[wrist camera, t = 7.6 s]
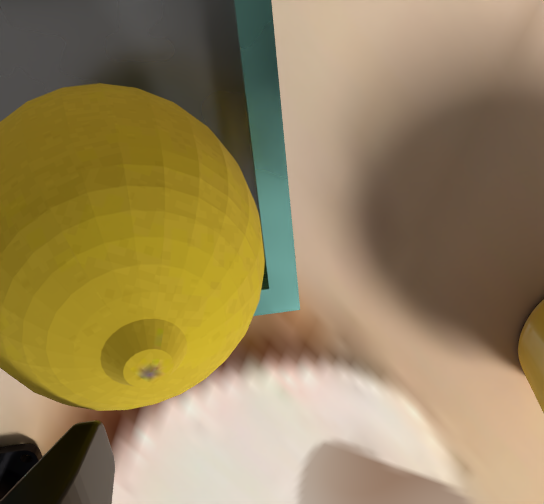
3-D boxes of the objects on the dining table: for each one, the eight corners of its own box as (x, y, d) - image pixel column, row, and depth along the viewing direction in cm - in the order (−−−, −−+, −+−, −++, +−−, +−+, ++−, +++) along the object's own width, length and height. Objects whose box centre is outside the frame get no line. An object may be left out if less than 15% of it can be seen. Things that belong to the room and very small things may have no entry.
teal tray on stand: (279, 227, 20) (299, 309, 15) (33, 258, 20) (-40, 354, 15) (249, -54, 16) (262, -86, 11) (-60, -20, 16) (-212, -34, 10)
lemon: (-55, 222, 13) (-149, 510, 6) (19, 3, 11) (-8, 96, 5) (153, 277, 16) (231, 513, 9) (236, 109, 14) (401, 257, 8)
